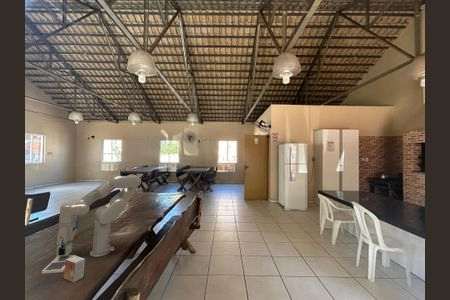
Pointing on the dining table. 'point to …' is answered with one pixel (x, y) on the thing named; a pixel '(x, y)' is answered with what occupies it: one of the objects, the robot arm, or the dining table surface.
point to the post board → (57, 264)
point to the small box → (74, 268)
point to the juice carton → (74, 228)
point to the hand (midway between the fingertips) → (64, 252)
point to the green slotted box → (67, 249)
